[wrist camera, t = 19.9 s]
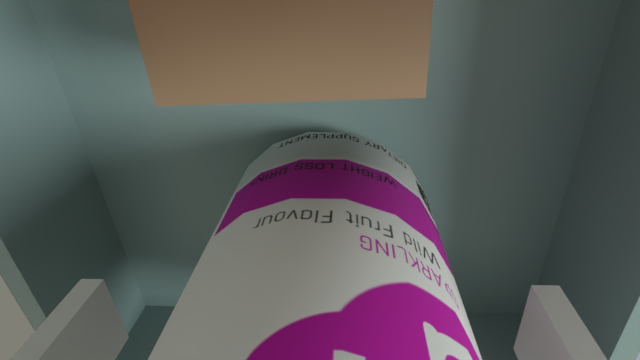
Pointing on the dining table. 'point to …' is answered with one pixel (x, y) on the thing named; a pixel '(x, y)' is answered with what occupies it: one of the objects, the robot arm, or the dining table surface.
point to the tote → (332, 116)
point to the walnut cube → (283, 50)
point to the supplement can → (322, 264)
